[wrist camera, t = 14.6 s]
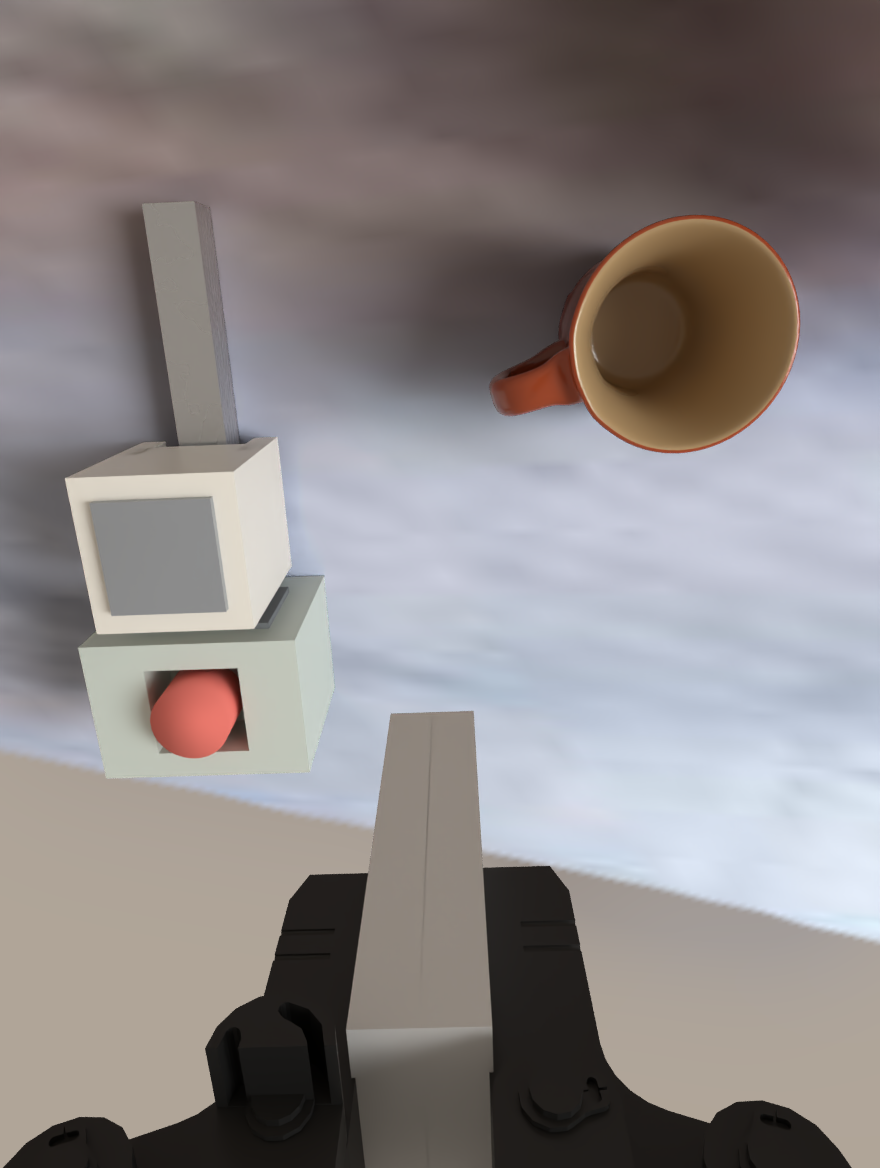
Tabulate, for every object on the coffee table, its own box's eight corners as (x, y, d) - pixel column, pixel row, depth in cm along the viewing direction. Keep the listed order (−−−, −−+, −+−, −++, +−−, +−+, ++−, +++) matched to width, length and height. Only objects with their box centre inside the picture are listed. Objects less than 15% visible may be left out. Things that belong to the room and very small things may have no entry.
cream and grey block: (142, 442, 41) (60, 480, 32) (277, 436, 41) (230, 473, 32) (164, 570, 43) (93, 637, 34) (291, 565, 43) (252, 632, 34)
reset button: (166, 661, 38) (143, 690, 35) (239, 659, 38) (223, 687, 35) (177, 726, 40) (156, 759, 37) (249, 724, 39) (233, 757, 37)
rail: (160, 209, 38) (141, 203, 36) (209, 207, 38) (194, 201, 36) (217, 596, 45) (204, 612, 42) (259, 594, 45) (248, 610, 42)
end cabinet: (147, 576, 44) (76, 641, 36) (323, 570, 44) (294, 634, 36) (168, 692, 47) (106, 778, 38) (334, 686, 47) (309, 772, 38)
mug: (692, 209, 38) (776, 177, 28) (731, 385, 41) (819, 411, 31) (457, 296, 39) (459, 295, 30) (509, 461, 42) (528, 508, 32)
